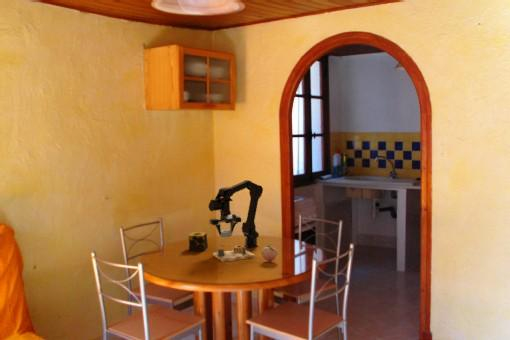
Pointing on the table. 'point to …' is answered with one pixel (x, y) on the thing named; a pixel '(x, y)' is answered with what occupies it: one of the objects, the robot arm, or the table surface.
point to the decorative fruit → (269, 253)
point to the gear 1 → (226, 233)
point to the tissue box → (198, 241)
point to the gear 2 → (238, 249)
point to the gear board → (232, 255)
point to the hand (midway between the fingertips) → (225, 234)
